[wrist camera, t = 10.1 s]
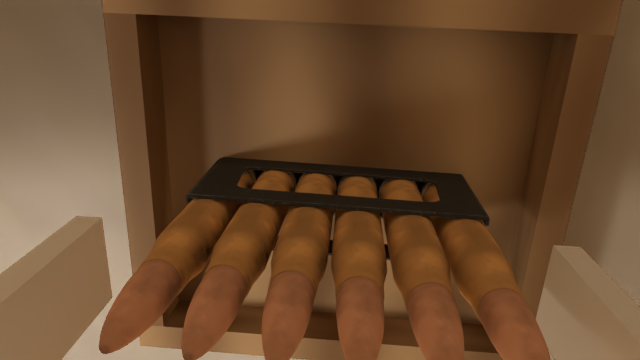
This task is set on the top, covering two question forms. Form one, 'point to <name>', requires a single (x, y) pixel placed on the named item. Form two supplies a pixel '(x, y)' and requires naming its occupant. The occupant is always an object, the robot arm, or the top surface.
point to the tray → (359, 123)
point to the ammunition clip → (312, 254)
